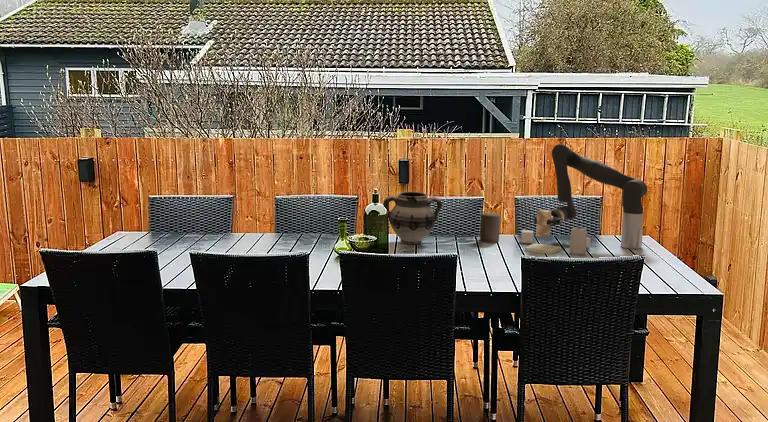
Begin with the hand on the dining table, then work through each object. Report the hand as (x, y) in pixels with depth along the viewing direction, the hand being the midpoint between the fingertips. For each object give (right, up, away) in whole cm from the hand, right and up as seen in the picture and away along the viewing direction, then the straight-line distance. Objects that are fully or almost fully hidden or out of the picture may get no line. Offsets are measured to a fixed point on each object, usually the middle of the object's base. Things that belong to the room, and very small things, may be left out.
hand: (541, 221), depth 324 cm
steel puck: (+22, -13, +10) cm, 28 cm away
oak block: (+1, -7, +3) cm, 7 cm away
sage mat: (+1, -14, +4) cm, 14 cm away
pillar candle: (-21, -10, +25) cm, 34 cm away
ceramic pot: (-61, -11, +15) cm, 64 cm away
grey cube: (-2, -11, +24) cm, 26 cm away
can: (+16, -15, -2) cm, 22 cm away
